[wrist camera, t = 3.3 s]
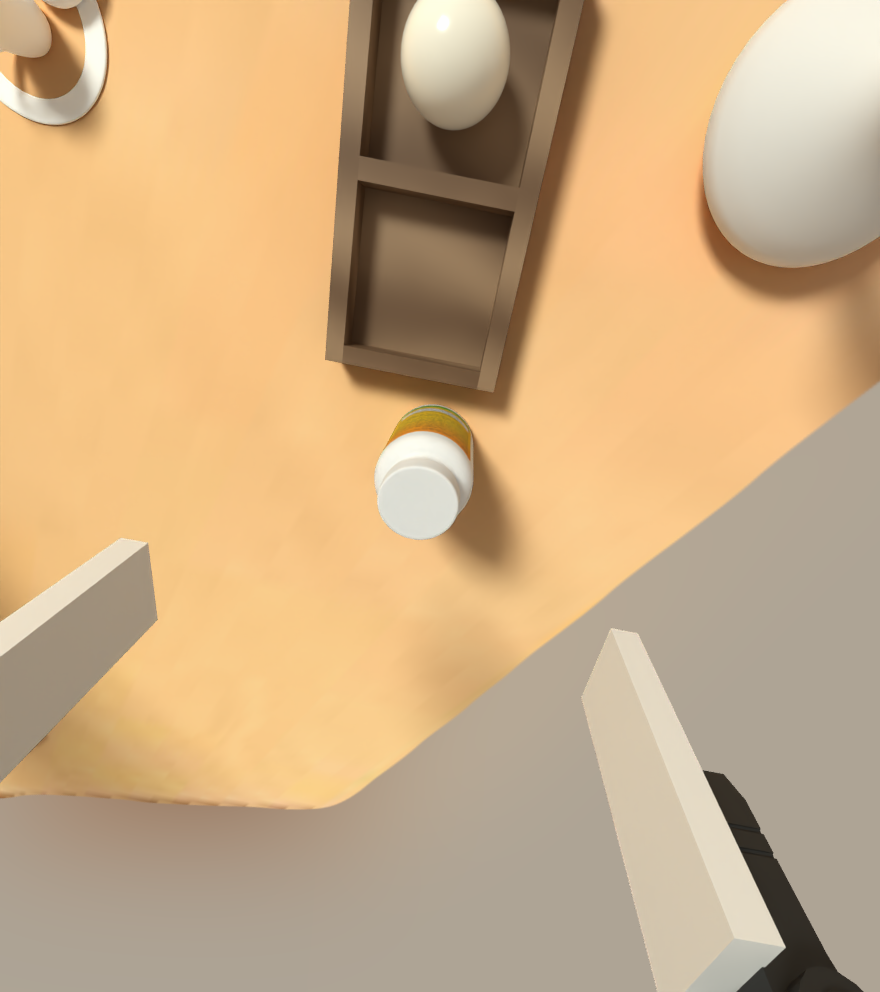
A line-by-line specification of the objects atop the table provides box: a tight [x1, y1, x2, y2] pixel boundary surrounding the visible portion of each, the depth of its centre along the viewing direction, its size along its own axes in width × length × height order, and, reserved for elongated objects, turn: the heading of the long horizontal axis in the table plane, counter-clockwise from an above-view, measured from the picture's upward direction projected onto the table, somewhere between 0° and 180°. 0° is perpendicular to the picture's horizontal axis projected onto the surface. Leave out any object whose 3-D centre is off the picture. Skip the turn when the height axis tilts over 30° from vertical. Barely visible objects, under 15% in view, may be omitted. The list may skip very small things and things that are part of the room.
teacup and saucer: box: [0, 0, 107, 125], centre depth 21 cm, size 9×8×4 cm
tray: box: [325, 0, 584, 393], centre depth 23 cm, size 19×10×2 cm, turn 170°
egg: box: [401, 0, 510, 131], centre depth 20 cm, size 5×5×5 cm
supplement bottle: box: [374, 404, 474, 540], centre depth 26 cm, size 5×5×10 cm
